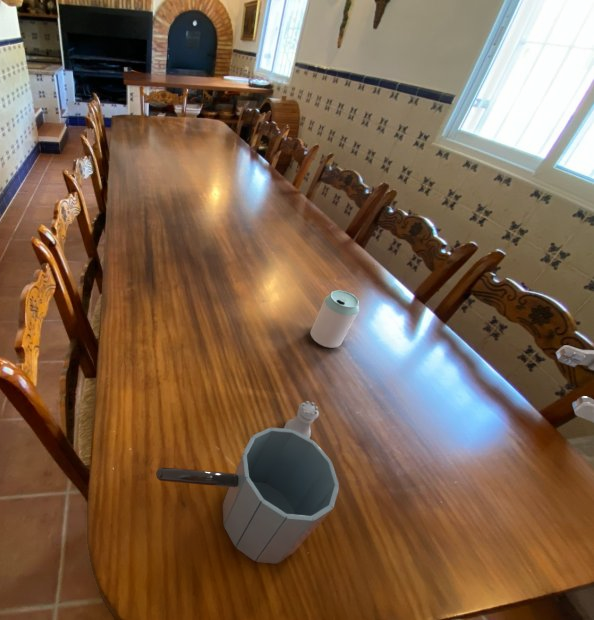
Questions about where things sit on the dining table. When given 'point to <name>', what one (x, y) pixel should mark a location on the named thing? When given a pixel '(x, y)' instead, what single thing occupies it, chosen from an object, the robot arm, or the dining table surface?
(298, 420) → the rook chess piece
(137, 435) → the dining table surface
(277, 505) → the pot
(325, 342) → the can
